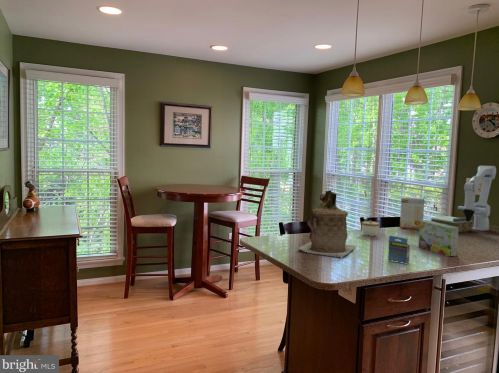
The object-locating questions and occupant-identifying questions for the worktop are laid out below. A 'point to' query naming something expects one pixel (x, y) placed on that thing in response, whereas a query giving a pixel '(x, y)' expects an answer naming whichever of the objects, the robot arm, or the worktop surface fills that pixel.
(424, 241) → the snack box
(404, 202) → the cracker box
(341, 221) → the cookie jar
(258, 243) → the worktop surface
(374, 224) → the lidded jar
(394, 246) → the label tape box
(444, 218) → the lid
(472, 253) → the worktop surface
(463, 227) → the crate
